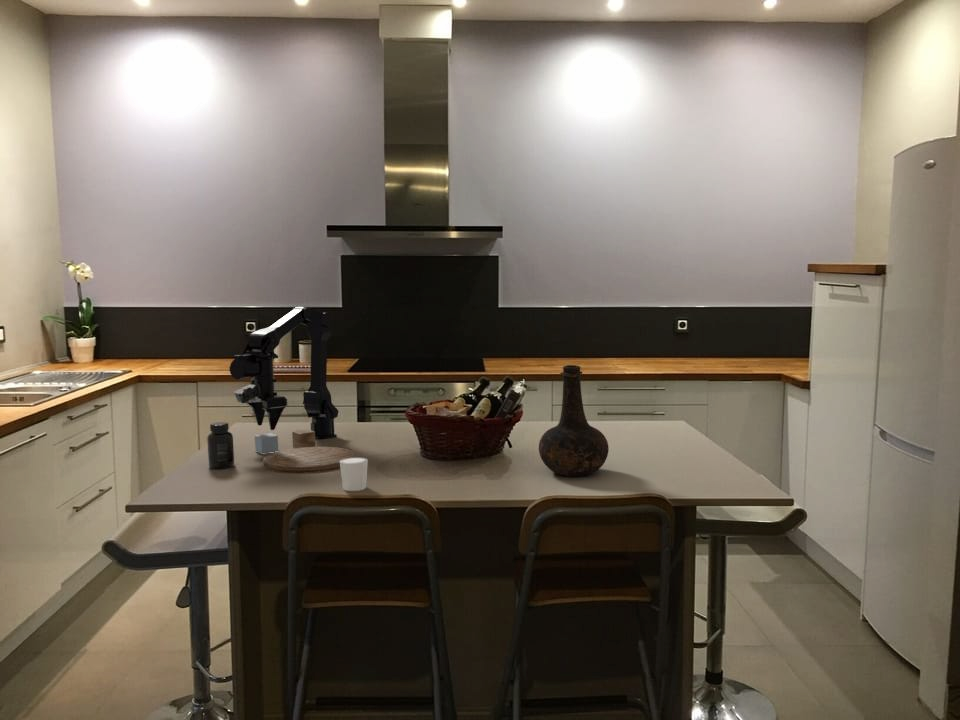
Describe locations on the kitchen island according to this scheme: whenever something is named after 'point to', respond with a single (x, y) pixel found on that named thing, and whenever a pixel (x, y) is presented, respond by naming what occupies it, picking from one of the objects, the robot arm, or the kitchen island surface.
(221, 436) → the supplement bottle
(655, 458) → the kitchen island surface
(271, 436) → the slate block
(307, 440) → the walnut block
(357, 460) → the white cup
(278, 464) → the trivet
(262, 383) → the robot arm
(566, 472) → the glass bottle
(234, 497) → the kitchen island surface
